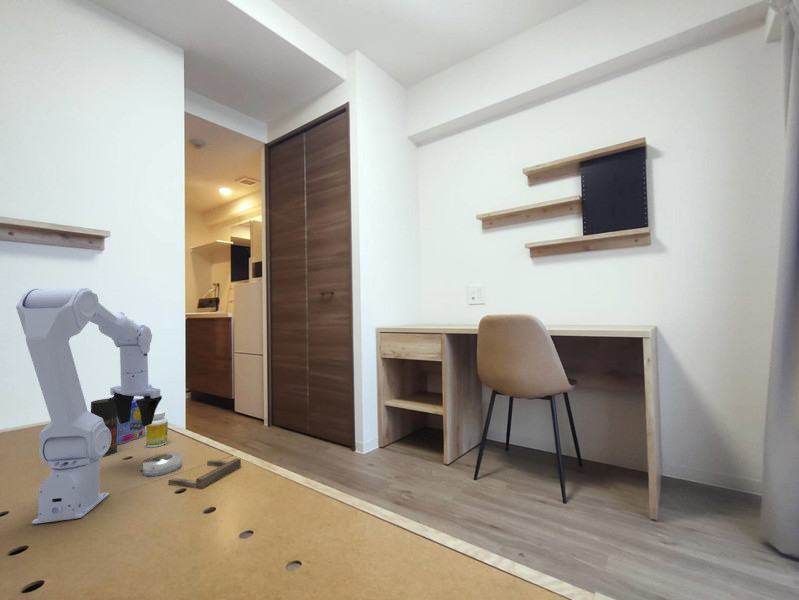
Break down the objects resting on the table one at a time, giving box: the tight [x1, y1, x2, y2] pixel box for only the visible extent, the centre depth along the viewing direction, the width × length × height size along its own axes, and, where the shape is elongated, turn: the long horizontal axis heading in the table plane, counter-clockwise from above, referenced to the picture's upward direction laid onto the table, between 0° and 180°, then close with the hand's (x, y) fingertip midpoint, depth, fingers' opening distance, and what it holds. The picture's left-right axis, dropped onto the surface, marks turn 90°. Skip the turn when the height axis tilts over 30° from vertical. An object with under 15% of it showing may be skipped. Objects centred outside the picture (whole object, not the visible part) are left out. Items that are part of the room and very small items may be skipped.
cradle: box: [167, 457, 242, 490], centre depth 86 cm, size 10×12×2 cm
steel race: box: [142, 452, 182, 478], centre depth 90 cm, size 8×8×3 cm
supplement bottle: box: [145, 410, 169, 448], centre depth 109 cm, size 5×5×10 cm
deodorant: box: [90, 398, 118, 458], centre depth 103 cm, size 6×6×15 cm
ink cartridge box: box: [117, 397, 146, 446], centre depth 115 cm, size 10×6×14 cm, turn 163°
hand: (136, 423), depth 93 cm, fingers open, 7 cm apart
